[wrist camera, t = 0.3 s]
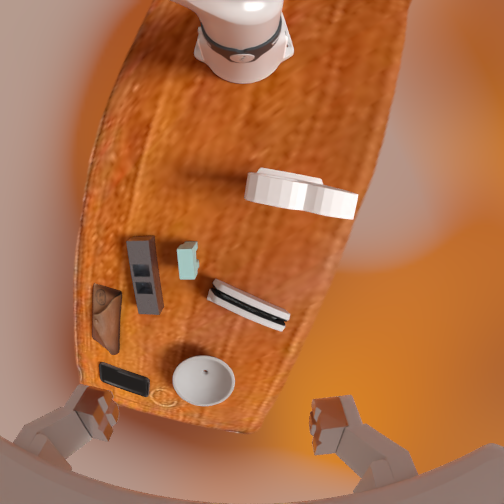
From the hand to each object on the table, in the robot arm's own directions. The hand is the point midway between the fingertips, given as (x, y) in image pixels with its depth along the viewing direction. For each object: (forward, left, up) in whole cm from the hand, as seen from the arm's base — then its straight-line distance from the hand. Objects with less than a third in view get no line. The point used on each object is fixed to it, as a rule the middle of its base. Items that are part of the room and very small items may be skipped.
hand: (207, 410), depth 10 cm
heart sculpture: (-4, +9, -46) cm, 47 cm away
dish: (+39, -10, -47) cm, 61 cm away
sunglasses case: (+25, -34, -47) cm, 63 cm away
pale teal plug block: (+9, -10, -46) cm, 48 cm away
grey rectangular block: (+13, -20, -46) cm, 52 cm away
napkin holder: (+19, +1, -47) cm, 50 cm away
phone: (+45, -34, -47) cm, 73 cm away
